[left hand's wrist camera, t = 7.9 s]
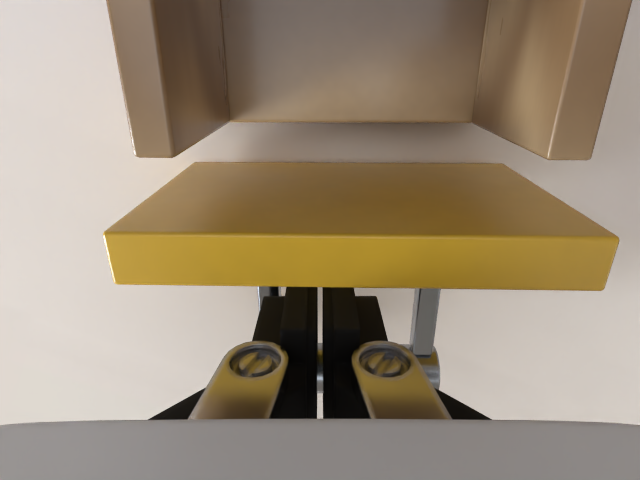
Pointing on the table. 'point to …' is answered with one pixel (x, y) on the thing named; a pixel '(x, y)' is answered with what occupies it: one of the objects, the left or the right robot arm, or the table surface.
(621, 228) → the table surface
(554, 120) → the drawer
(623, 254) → the table surface
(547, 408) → the table surface
